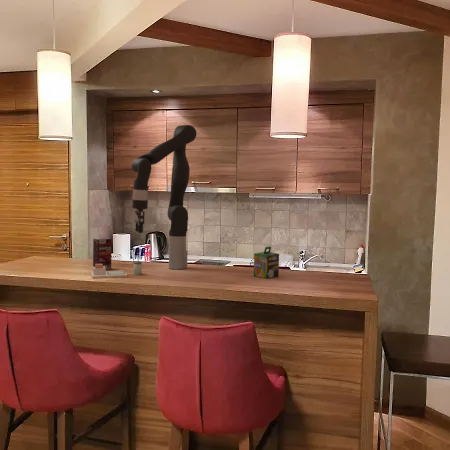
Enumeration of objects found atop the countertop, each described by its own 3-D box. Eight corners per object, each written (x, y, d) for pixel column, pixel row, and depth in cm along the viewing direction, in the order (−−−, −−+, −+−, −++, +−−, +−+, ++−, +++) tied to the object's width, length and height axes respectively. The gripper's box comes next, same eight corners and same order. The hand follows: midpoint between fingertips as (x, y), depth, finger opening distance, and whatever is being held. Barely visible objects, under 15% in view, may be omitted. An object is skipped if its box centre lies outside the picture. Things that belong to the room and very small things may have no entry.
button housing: (104, 272, 236) (104, 266, 236) (105, 274, 231) (105, 268, 230) (92, 273, 234) (92, 266, 234) (93, 275, 229) (93, 268, 228)
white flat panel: (123, 272, 242) (123, 270, 242) (127, 276, 231) (127, 274, 231) (90, 273, 237) (90, 271, 237) (92, 278, 226) (92, 276, 226)
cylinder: (141, 273, 241) (140, 261, 241) (142, 274, 238) (142, 262, 237) (132, 273, 240) (132, 261, 239) (134, 274, 236) (134, 262, 236)
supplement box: (98, 270, 247) (98, 239, 245) (92, 269, 249) (92, 238, 248) (112, 268, 253) (112, 238, 252) (106, 267, 256) (106, 237, 255)
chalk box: (265, 274, 244) (265, 244, 242) (279, 276, 237) (280, 246, 236) (252, 276, 237) (253, 246, 236) (267, 279, 231) (267, 248, 229)
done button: (102, 268, 234) (102, 263, 234) (102, 269, 231) (102, 264, 231) (95, 268, 233) (95, 263, 233) (95, 269, 230) (95, 265, 230)
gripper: (150, 200, 233) (149, 233, 234) (145, 199, 246) (144, 230, 247) (134, 199, 230) (133, 233, 231) (130, 198, 244) (129, 230, 245)
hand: (139, 231), depth 239 cm, fingers open, 8 cm apart
